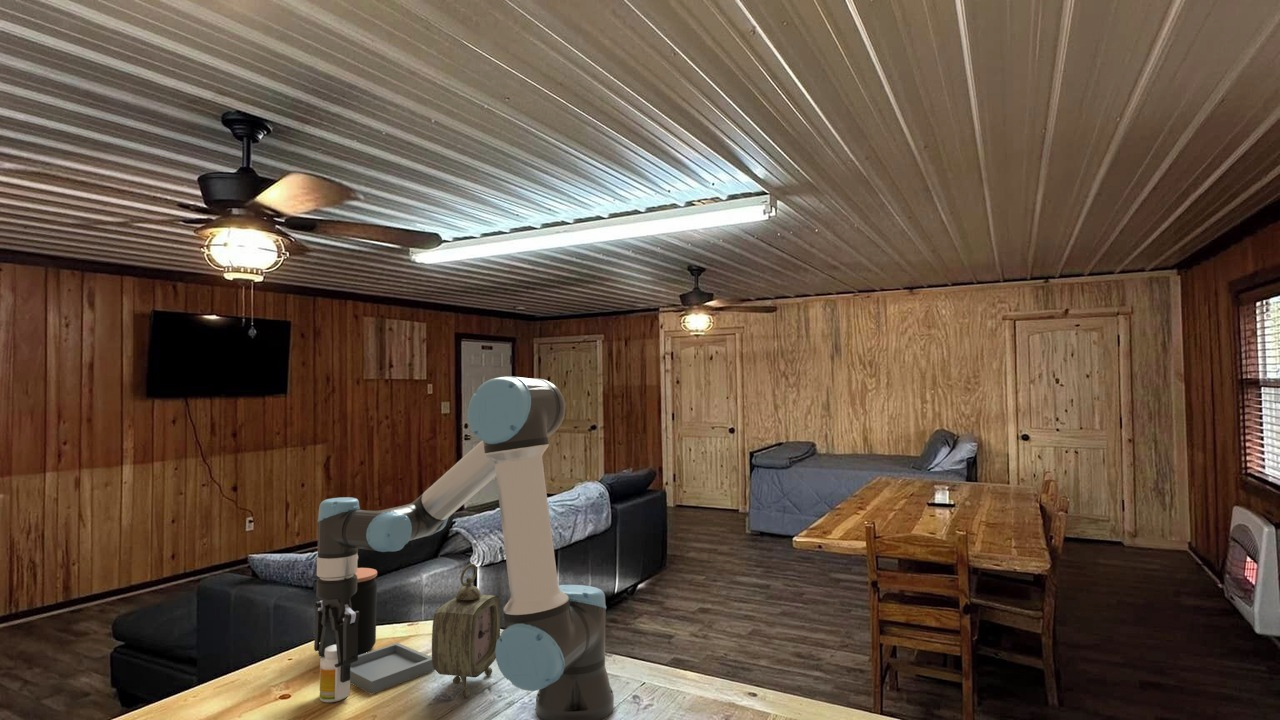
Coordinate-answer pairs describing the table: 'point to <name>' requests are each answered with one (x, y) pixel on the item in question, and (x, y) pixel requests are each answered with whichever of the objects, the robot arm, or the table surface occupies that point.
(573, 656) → the robot arm
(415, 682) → the table surface
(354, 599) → the coffee jar
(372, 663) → the tray
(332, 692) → the supplement bottle
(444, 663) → the tabletop clock
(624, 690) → the table surface
